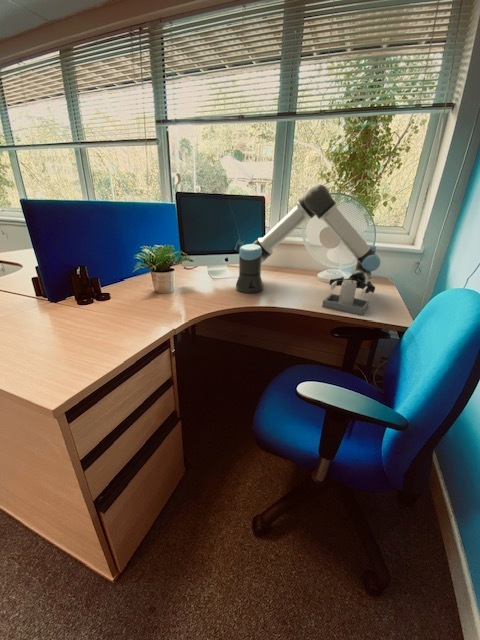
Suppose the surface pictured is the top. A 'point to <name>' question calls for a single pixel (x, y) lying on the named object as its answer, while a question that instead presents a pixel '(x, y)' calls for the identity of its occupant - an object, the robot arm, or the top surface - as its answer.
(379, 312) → the top surface
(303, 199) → the robot arm
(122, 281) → the top surface
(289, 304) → the top surface
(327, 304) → the tray
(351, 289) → the beverage can
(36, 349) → the top surface
